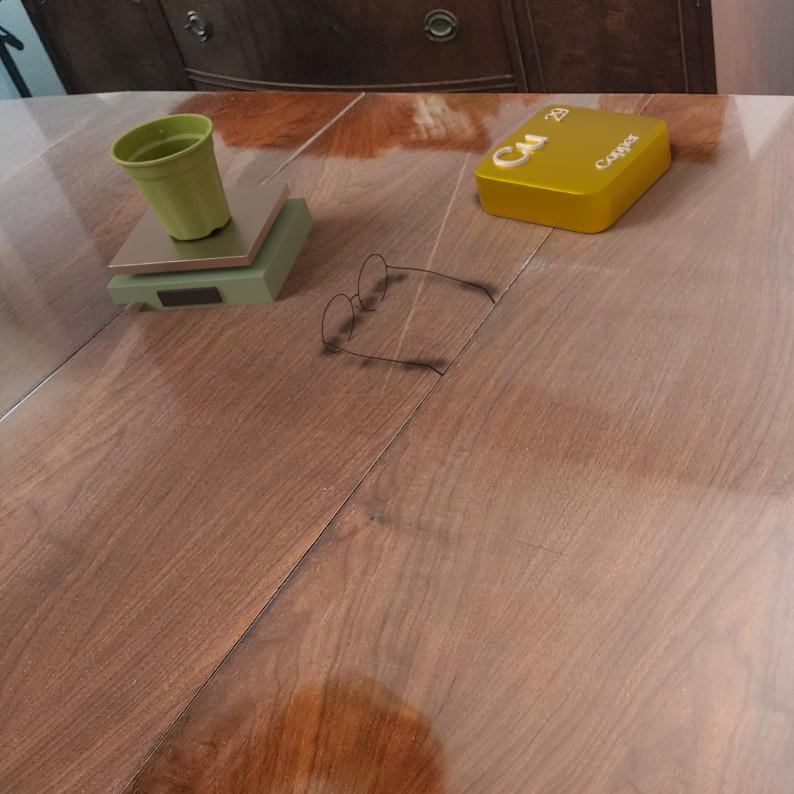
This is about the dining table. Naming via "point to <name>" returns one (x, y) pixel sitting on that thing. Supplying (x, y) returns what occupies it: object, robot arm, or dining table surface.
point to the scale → (224, 272)
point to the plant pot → (176, 173)
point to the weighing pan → (220, 248)
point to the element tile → (574, 167)
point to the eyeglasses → (381, 300)
